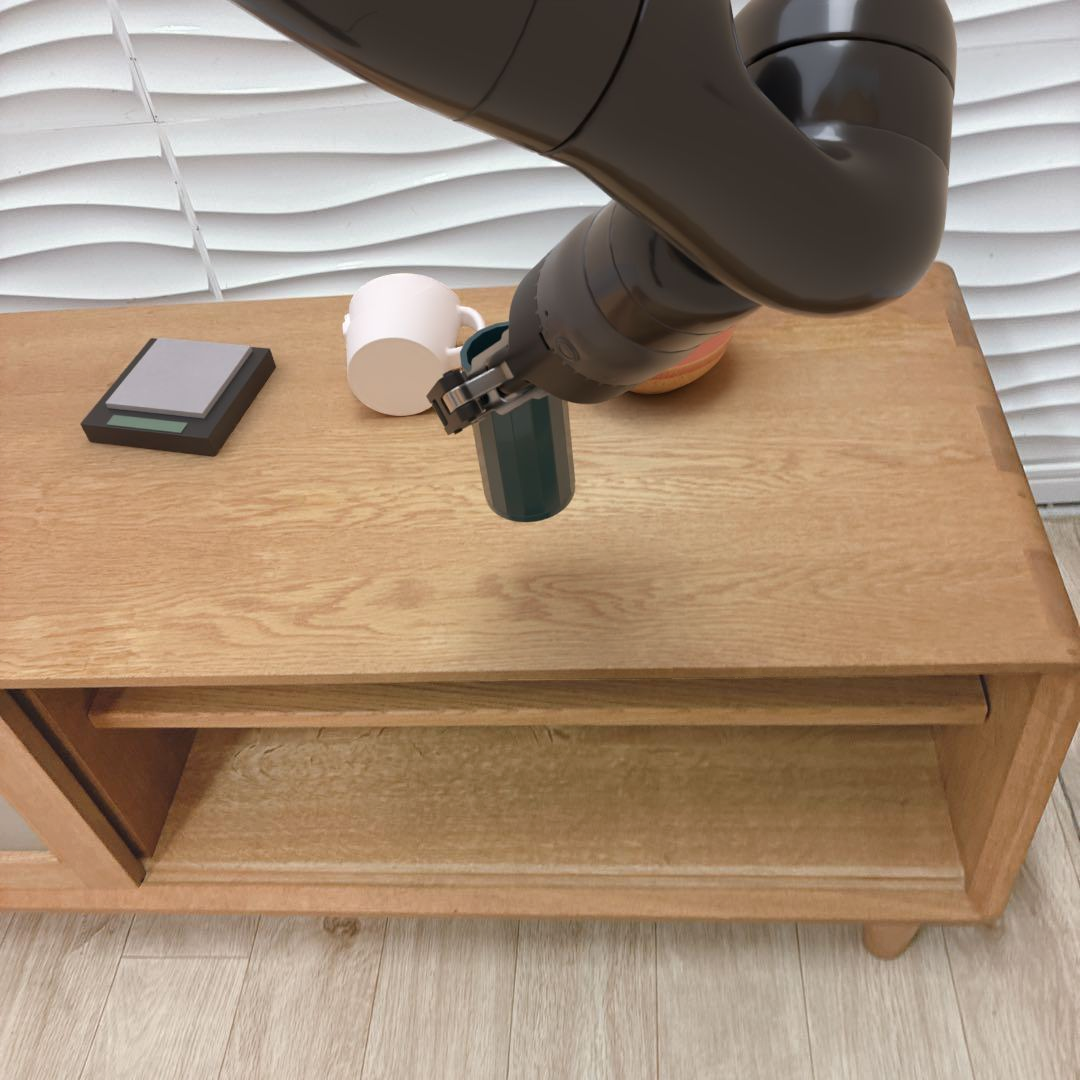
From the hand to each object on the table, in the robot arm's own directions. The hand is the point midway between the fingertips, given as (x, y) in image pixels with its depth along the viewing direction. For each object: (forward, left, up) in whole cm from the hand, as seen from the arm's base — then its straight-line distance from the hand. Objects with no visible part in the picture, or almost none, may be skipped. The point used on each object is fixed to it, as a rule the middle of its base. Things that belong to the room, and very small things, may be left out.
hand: (501, 388), depth 65 cm
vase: (+23, -4, -16) cm, 28 cm away
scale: (+13, +35, -16) cm, 40 cm away
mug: (+19, +15, -16) cm, 29 cm away
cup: (-1, -1, -7) cm, 8 cm away
